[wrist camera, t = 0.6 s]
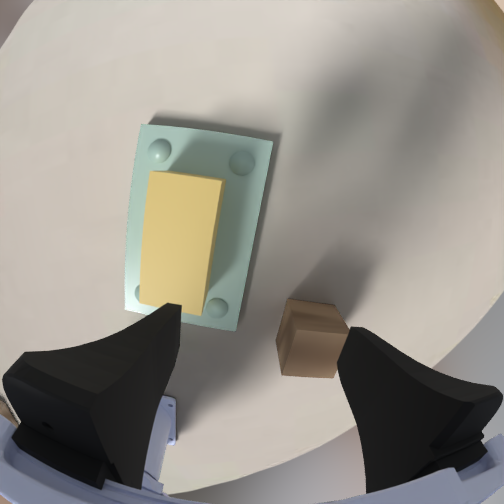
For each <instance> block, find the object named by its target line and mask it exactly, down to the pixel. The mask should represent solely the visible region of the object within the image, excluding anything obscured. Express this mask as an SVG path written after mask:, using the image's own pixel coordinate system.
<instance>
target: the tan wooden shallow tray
mask: <svg viewBox="0 0 504 504" xmlns="http://www.w3.org/2000/svg"><path fill="white" fill-rule="evenodd" d="M0 414H1V415H2V416H4V417H5V418H6V419H8V420H9V421H10V422H12V423H13V424H14V425H15V426H16V428H18V424H17V422H16V421H15V419H14V417H13V416H12V414H11V412H10V411H9V409H8V407H7V405H6V404H5V403H4V402H3V401H1V400H0Z"/></svg>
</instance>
